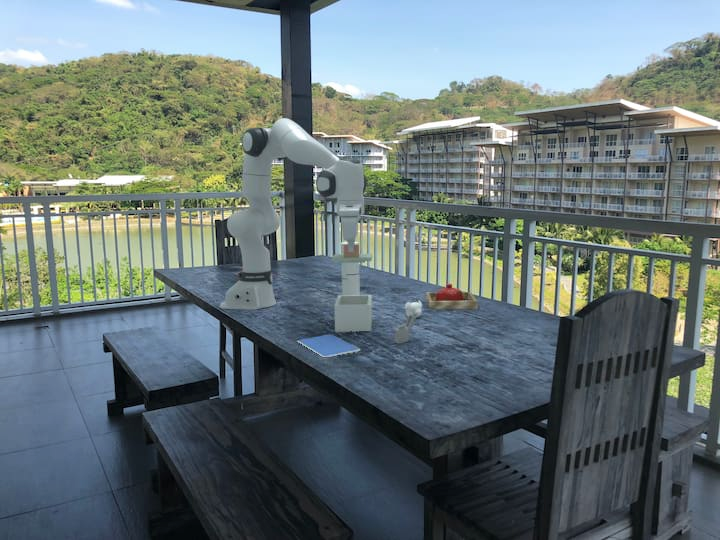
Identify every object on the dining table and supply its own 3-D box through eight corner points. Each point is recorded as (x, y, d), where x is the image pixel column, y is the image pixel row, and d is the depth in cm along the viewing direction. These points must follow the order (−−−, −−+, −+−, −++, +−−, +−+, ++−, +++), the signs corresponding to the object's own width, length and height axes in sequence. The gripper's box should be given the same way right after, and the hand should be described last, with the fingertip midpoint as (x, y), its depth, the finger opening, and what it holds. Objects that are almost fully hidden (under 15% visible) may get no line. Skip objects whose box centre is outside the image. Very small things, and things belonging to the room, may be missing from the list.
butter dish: (429, 305, 219) (429, 284, 218) (444, 300, 228) (444, 280, 226) (453, 309, 212) (454, 287, 210) (469, 303, 220) (469, 283, 219)
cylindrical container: (358, 306, 219) (356, 243, 215) (340, 305, 221) (339, 243, 217) (361, 302, 226) (360, 241, 222) (344, 301, 228) (343, 241, 223)
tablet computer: (361, 353, 162) (361, 348, 162) (323, 360, 156) (323, 356, 156) (331, 337, 179) (331, 333, 179) (296, 344, 173) (295, 340, 172)
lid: (331, 263, 179) (331, 245, 178) (335, 258, 196) (335, 242, 195) (371, 263, 178) (371, 245, 177) (372, 258, 195) (372, 242, 194)
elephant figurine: (412, 320, 196) (412, 304, 195) (399, 316, 202) (399, 300, 201) (427, 317, 199) (427, 301, 198) (414, 313, 206) (413, 297, 205)
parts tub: (335, 331, 183) (334, 305, 182) (339, 319, 199) (338, 295, 197) (371, 331, 183) (370, 305, 181) (372, 319, 198) (371, 294, 197)
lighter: (398, 343, 169) (398, 318, 167) (394, 342, 170) (394, 317, 169) (416, 339, 173) (416, 315, 171) (412, 338, 174) (412, 313, 173)
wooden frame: (429, 309, 212) (429, 301, 211) (426, 299, 229) (426, 292, 228) (477, 308, 211) (477, 301, 210) (470, 298, 228) (470, 291, 227)
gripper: (343, 207, 188) (344, 247, 190) (338, 211, 168) (339, 255, 170) (361, 207, 188) (362, 247, 190) (359, 210, 168) (359, 255, 170)
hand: (351, 251), depth 180 cm, fingers closed on lid
